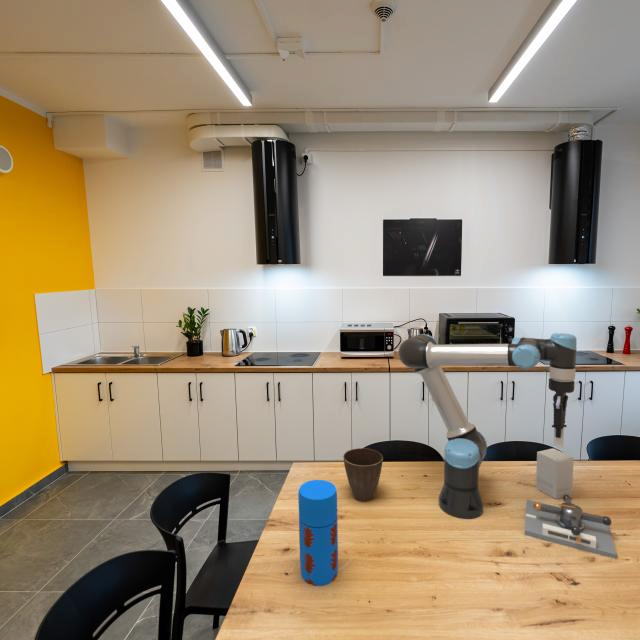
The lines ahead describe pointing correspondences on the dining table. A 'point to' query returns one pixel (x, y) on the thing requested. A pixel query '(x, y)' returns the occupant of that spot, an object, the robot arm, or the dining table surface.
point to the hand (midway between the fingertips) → (558, 445)
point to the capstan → (571, 515)
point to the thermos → (318, 532)
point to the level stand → (569, 532)
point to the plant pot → (363, 472)
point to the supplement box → (554, 473)
